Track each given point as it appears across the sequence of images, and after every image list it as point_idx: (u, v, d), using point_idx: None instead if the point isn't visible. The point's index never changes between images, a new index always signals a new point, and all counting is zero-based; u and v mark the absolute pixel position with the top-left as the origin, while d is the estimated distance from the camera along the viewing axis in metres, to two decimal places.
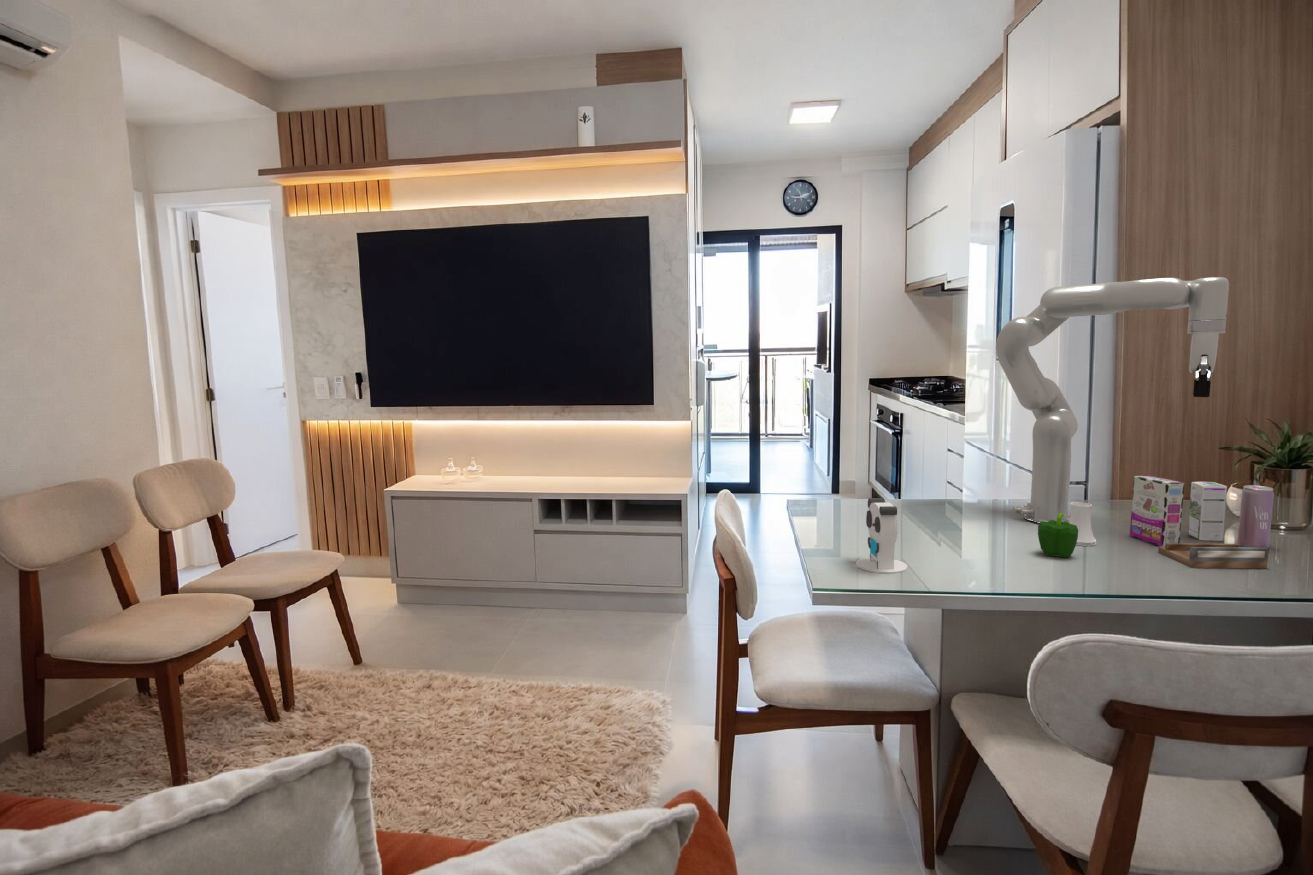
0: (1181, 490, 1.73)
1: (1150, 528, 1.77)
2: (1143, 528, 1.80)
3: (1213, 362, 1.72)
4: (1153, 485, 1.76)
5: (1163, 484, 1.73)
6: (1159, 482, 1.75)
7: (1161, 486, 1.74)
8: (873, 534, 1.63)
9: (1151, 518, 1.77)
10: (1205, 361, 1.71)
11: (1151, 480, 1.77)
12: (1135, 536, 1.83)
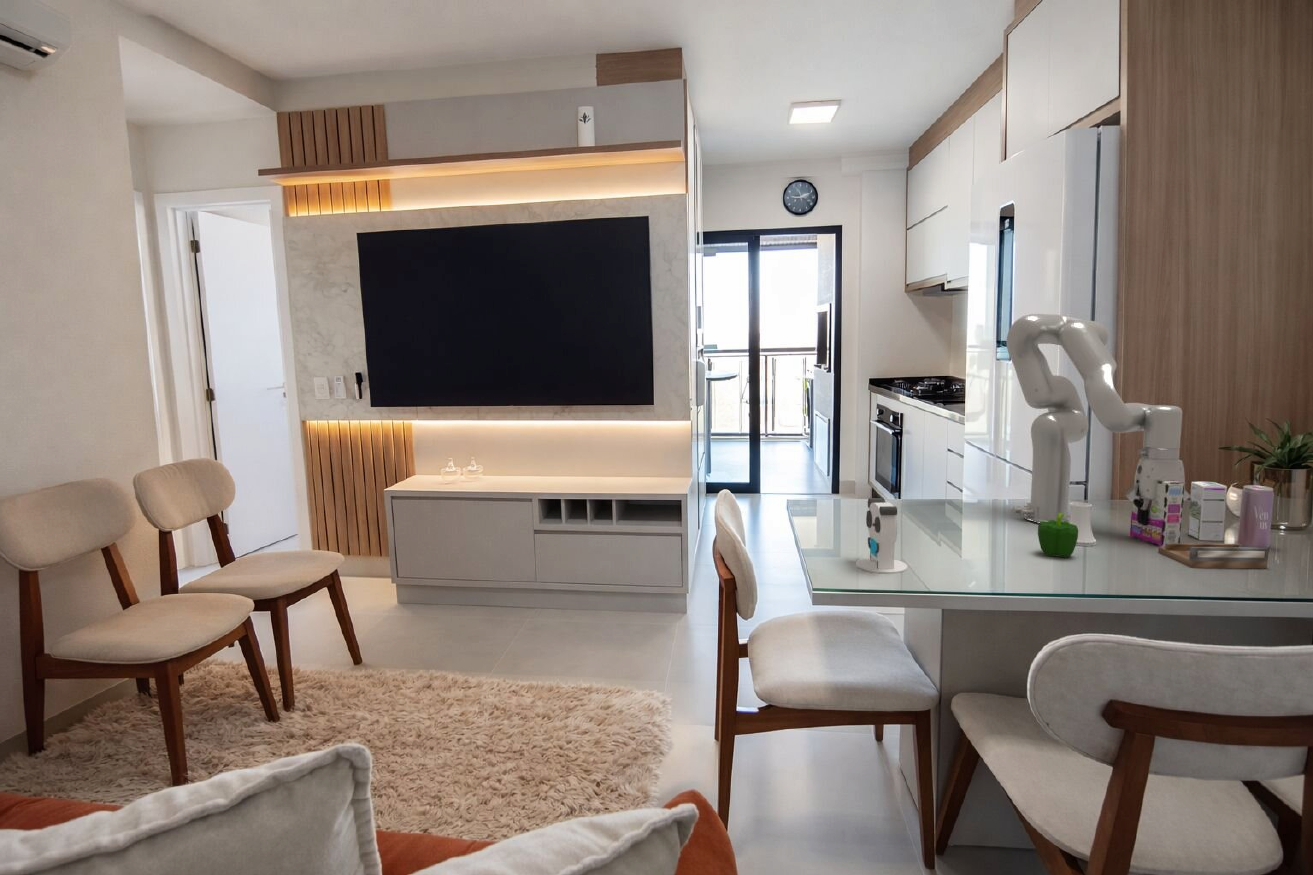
0: (1181, 490, 1.73)
1: (1150, 528, 1.77)
2: (1144, 528, 1.80)
3: None
4: None
5: (1163, 484, 1.73)
6: (1159, 482, 1.75)
7: (1162, 486, 1.74)
8: (873, 534, 1.63)
9: (1151, 518, 1.77)
10: None
11: None
12: (1135, 536, 1.83)
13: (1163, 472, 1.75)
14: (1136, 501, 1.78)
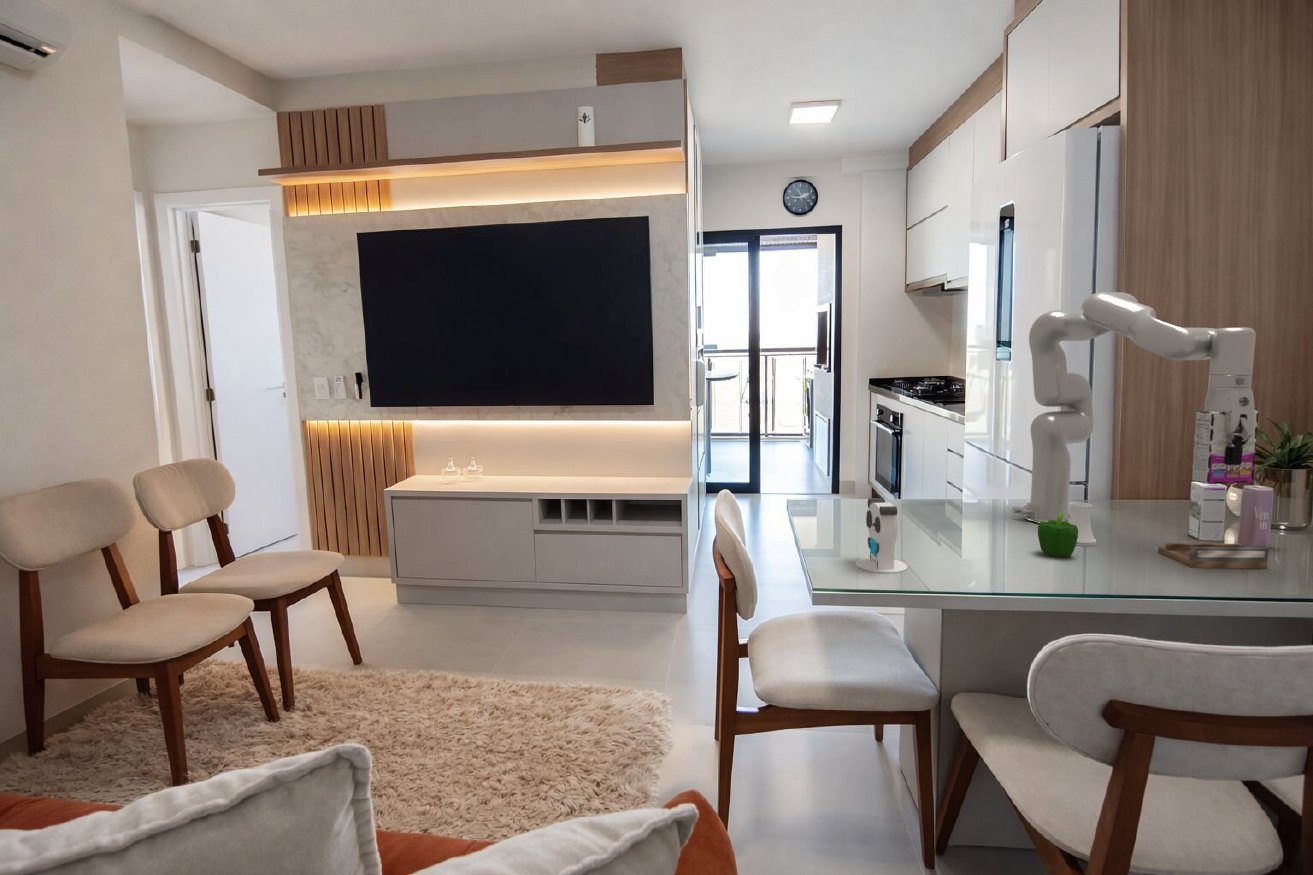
0: None
1: (1238, 466, 1.57)
2: (1229, 468, 1.57)
3: None
4: None
5: (1254, 414, 1.56)
6: None
7: None
8: (872, 534, 1.63)
9: None
10: None
11: None
12: (1217, 481, 1.57)
13: None
14: None
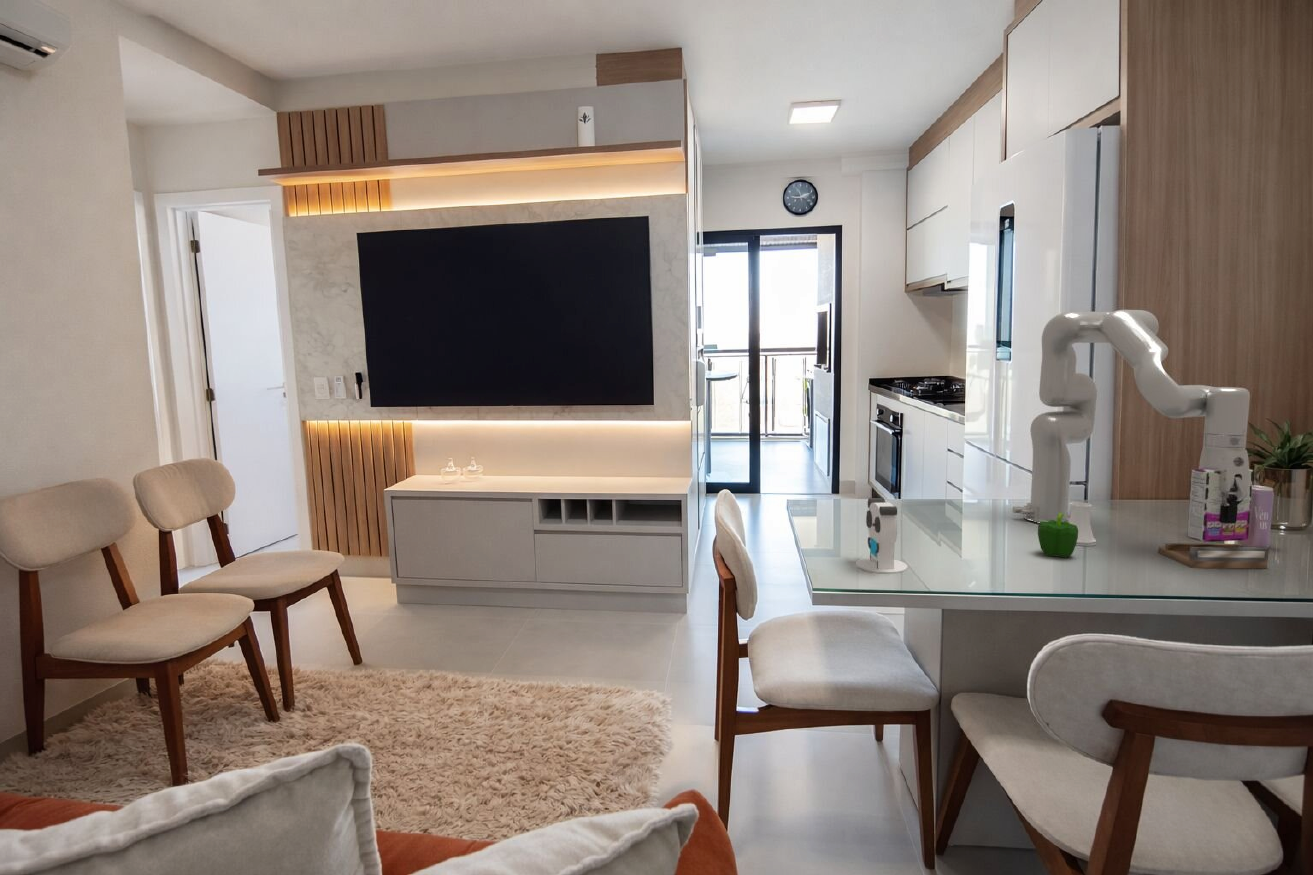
0: None
1: (1233, 524, 1.59)
2: (1224, 526, 1.59)
3: None
4: None
5: (1249, 472, 1.58)
6: None
7: None
8: (872, 534, 1.63)
9: None
10: None
11: None
12: (1212, 539, 1.59)
13: None
14: None
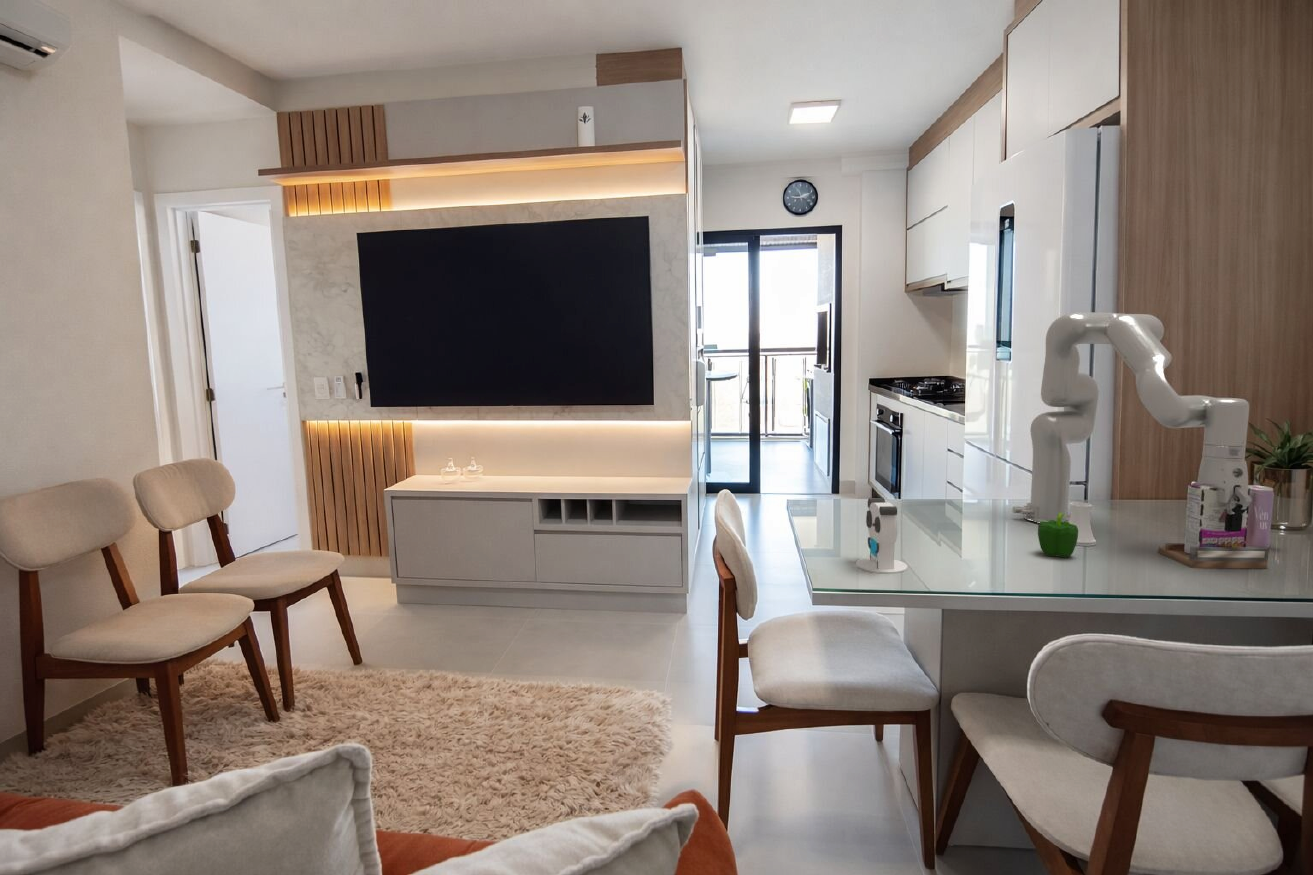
0: None
1: (1229, 540, 1.60)
2: (1220, 543, 1.60)
3: None
4: None
5: None
6: None
7: None
8: (872, 534, 1.63)
9: None
10: None
11: None
12: None
13: None
14: None
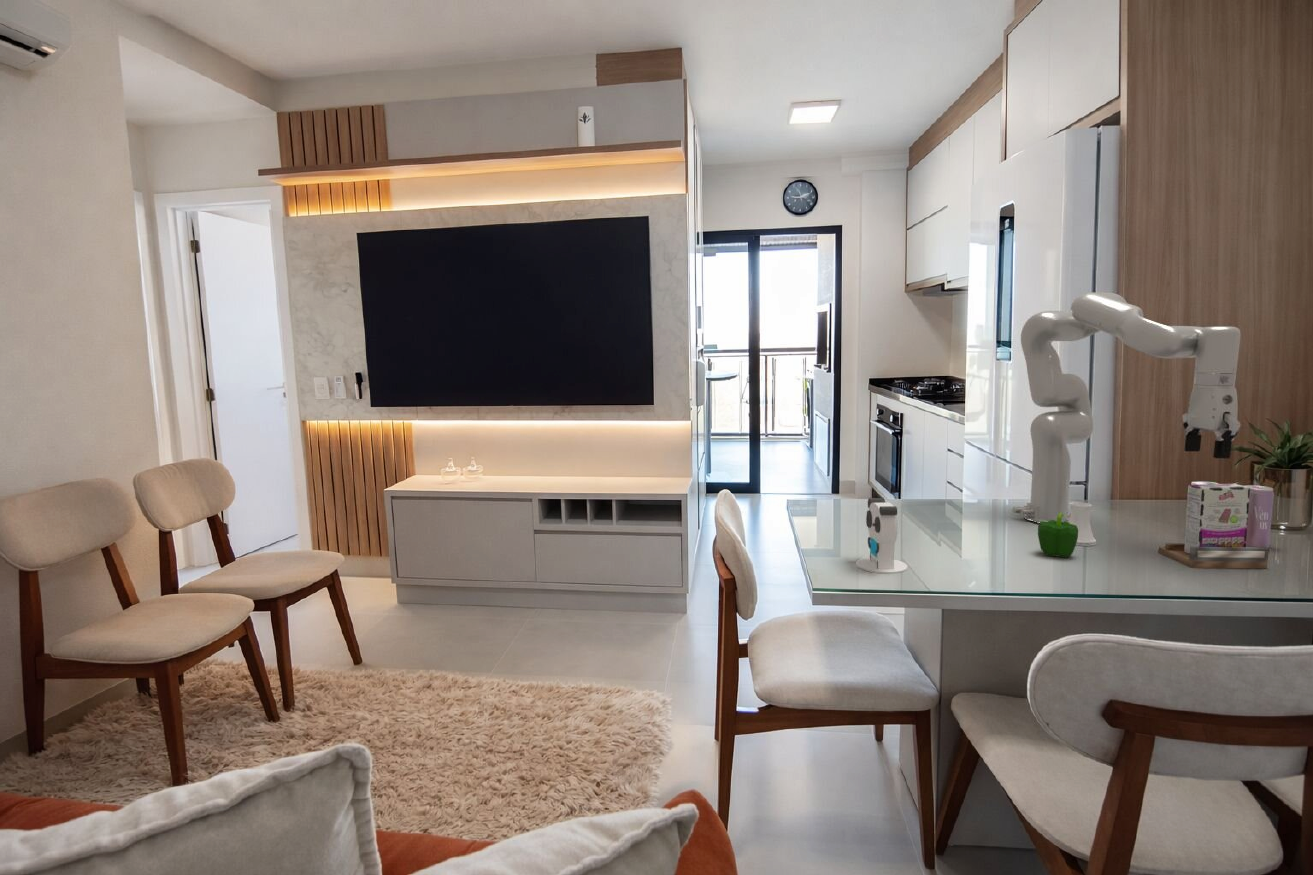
0: None
1: (1229, 540, 1.60)
2: (1220, 543, 1.60)
3: (1187, 415, 1.66)
4: (1232, 493, 1.58)
5: (1245, 489, 1.59)
6: (1240, 488, 1.58)
7: (1243, 492, 1.59)
8: (872, 534, 1.63)
9: (1230, 529, 1.59)
10: None
11: (1228, 488, 1.58)
12: None
13: None
14: None
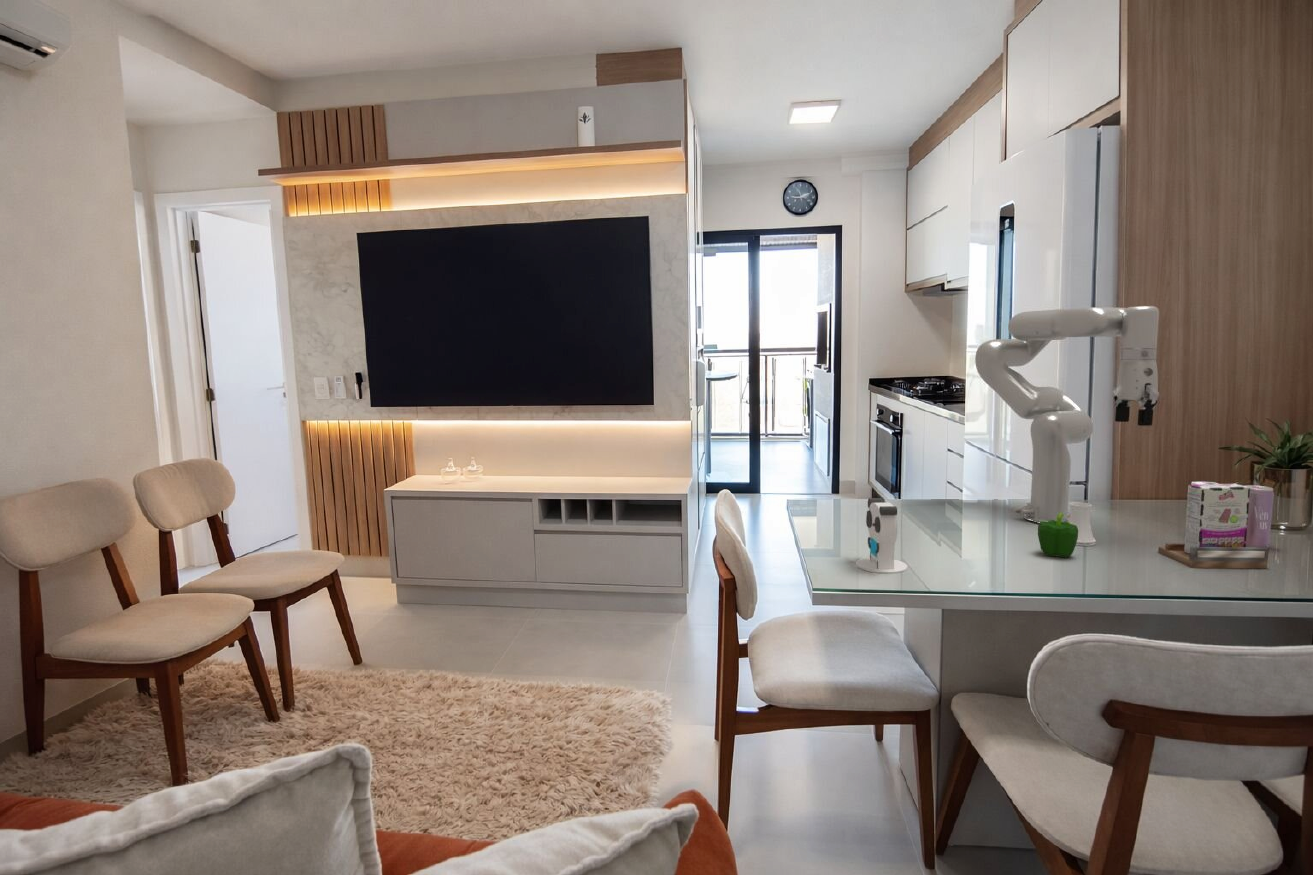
0: None
1: (1229, 540, 1.60)
2: (1220, 543, 1.60)
3: None
4: (1232, 493, 1.58)
5: (1245, 489, 1.59)
6: (1240, 488, 1.58)
7: (1243, 492, 1.59)
8: (872, 534, 1.63)
9: (1230, 529, 1.59)
10: None
11: (1228, 488, 1.58)
12: None
13: None
14: None
